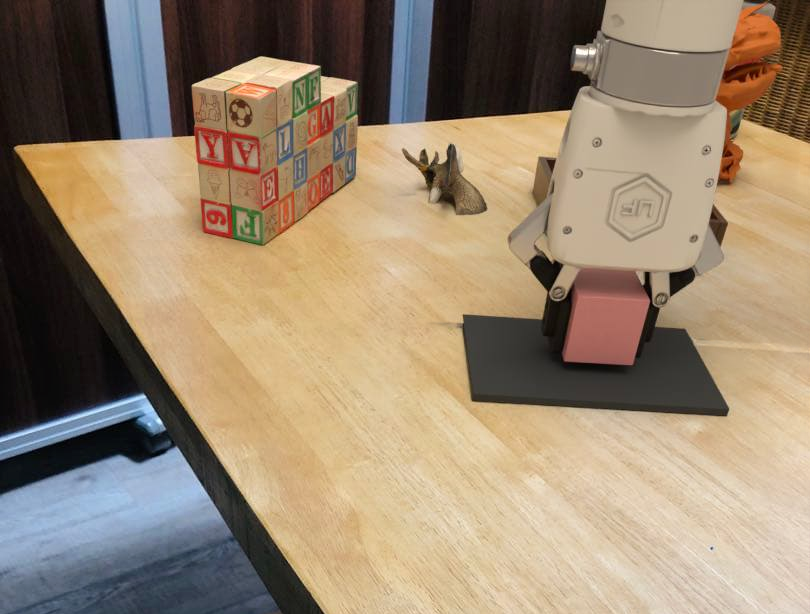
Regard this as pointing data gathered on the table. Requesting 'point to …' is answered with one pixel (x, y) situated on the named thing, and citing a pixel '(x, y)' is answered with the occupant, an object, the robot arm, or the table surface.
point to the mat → (585, 371)
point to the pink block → (605, 317)
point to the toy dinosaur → (746, 75)
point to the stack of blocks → (271, 145)
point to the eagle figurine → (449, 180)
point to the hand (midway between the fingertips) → (592, 344)
